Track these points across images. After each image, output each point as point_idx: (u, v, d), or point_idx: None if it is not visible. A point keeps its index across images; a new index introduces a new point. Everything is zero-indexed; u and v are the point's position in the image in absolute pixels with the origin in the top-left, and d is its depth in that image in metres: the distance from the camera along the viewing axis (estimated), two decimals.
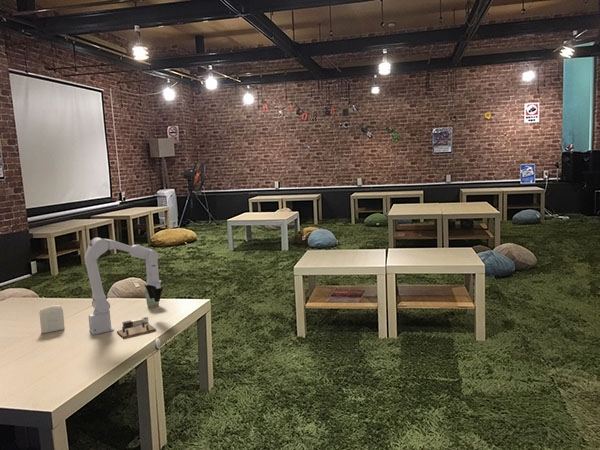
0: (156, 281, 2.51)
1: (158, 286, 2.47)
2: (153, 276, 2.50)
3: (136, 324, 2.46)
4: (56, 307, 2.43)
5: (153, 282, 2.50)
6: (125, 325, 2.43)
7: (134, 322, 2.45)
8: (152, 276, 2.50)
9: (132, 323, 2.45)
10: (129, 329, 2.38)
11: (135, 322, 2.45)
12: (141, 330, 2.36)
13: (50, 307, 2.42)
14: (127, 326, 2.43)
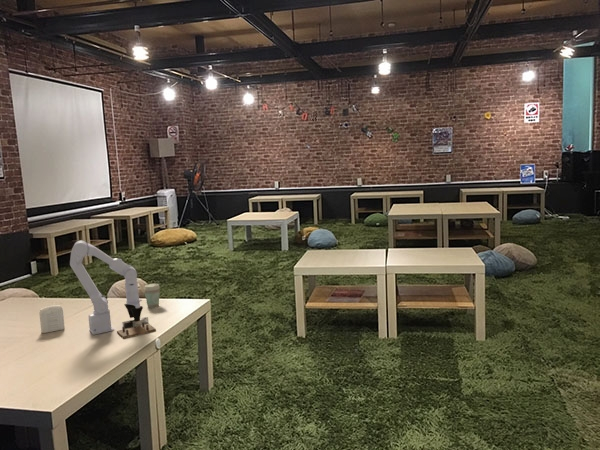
0: (136, 300, 2.43)
1: (137, 306, 2.39)
2: (132, 295, 2.42)
3: (136, 324, 2.46)
4: (56, 307, 2.43)
5: (132, 301, 2.42)
6: (125, 325, 2.43)
7: (134, 322, 2.45)
8: (131, 295, 2.42)
9: (132, 323, 2.45)
10: (129, 329, 2.38)
11: (135, 322, 2.45)
12: (141, 330, 2.36)
13: (50, 307, 2.42)
14: (127, 326, 2.43)
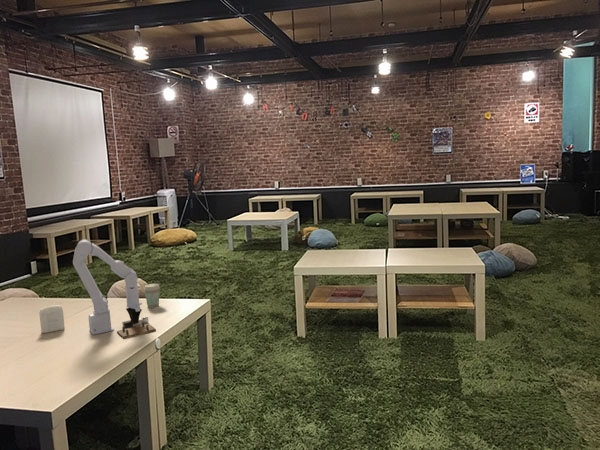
0: (136, 304, 2.43)
1: (138, 309, 2.40)
2: (132, 298, 2.42)
3: (136, 324, 2.46)
4: (56, 307, 2.43)
5: (133, 305, 2.43)
6: (125, 325, 2.43)
7: None
8: (132, 298, 2.42)
9: (132, 323, 2.45)
10: (129, 329, 2.38)
11: None
12: (141, 330, 2.36)
13: (50, 307, 2.42)
14: (127, 326, 2.43)
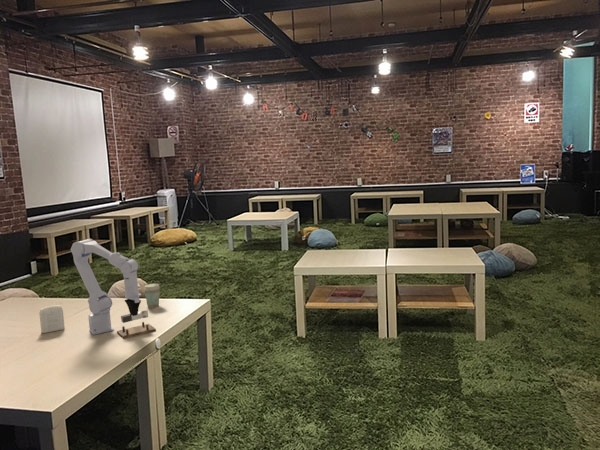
0: (135, 295, 2.33)
1: (137, 300, 2.29)
2: (131, 289, 2.32)
3: (135, 318, 2.35)
4: (56, 307, 2.43)
5: (132, 296, 2.32)
6: (124, 319, 2.32)
7: (133, 316, 2.35)
8: (130, 289, 2.31)
9: (131, 317, 2.34)
10: (129, 329, 2.38)
11: (134, 316, 2.35)
12: (141, 330, 2.36)
13: (50, 307, 2.42)
14: (126, 320, 2.33)
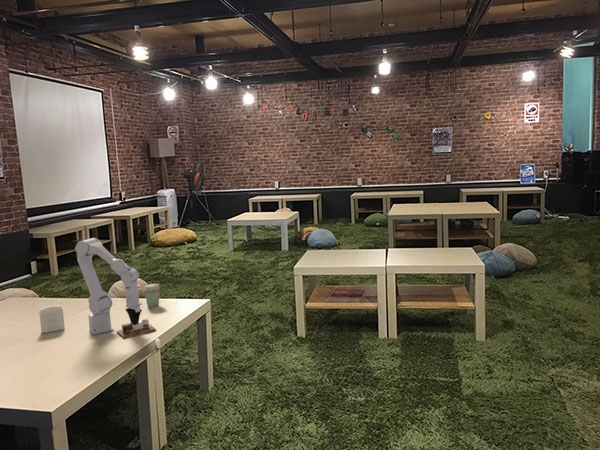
0: (136, 304, 2.33)
1: (138, 309, 2.29)
2: (132, 298, 2.32)
3: (136, 327, 2.36)
4: (56, 307, 2.43)
5: (132, 305, 2.32)
6: (124, 328, 2.33)
7: (134, 325, 2.35)
8: (131, 298, 2.32)
9: (132, 326, 2.34)
10: None
11: (135, 325, 2.35)
12: (141, 330, 2.36)
13: (50, 307, 2.42)
14: None
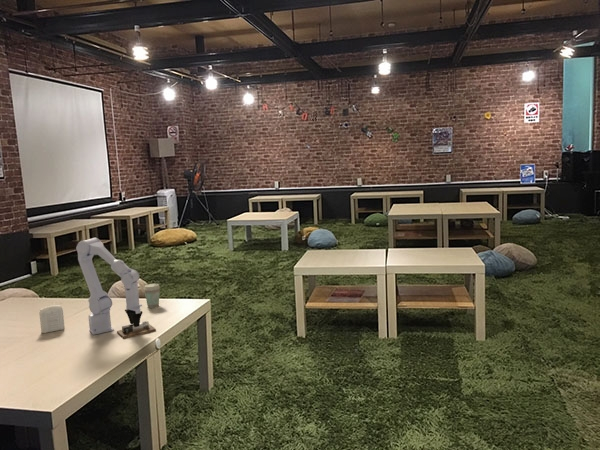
0: (136, 305, 2.33)
1: (138, 311, 2.29)
2: (132, 300, 2.32)
3: (136, 328, 2.36)
4: (56, 307, 2.43)
5: (133, 306, 2.32)
6: (125, 330, 2.33)
7: None
8: (131, 300, 2.32)
9: (132, 327, 2.35)
10: None
11: None
12: (141, 330, 2.36)
13: (50, 307, 2.42)
14: None
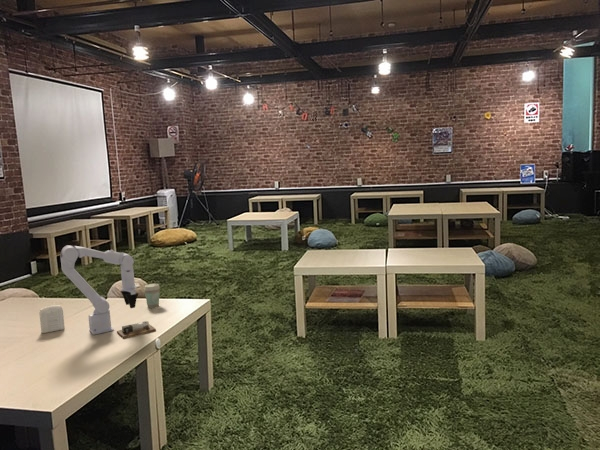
0: (131, 287, 2.44)
1: (133, 292, 2.40)
2: (128, 282, 2.42)
3: (136, 328, 2.36)
4: (56, 307, 2.43)
5: (128, 288, 2.43)
6: (125, 330, 2.33)
7: (134, 326, 2.35)
8: (127, 282, 2.42)
9: (132, 327, 2.35)
10: None
11: (135, 326, 2.35)
12: (141, 330, 2.36)
13: (50, 307, 2.42)
14: None
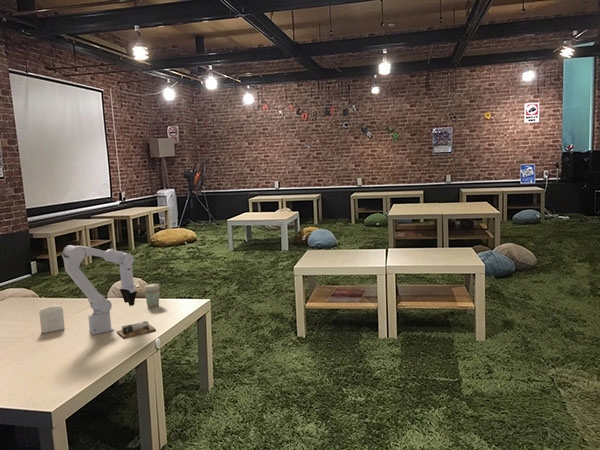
0: (130, 285, 2.48)
1: (132, 290, 2.44)
2: (127, 280, 2.46)
3: (136, 328, 2.36)
4: (56, 307, 2.43)
5: (127, 286, 2.47)
6: (125, 330, 2.33)
7: (134, 326, 2.35)
8: (126, 280, 2.46)
9: (132, 327, 2.35)
10: None
11: (135, 326, 2.35)
12: (141, 330, 2.36)
13: (50, 307, 2.42)
14: None
